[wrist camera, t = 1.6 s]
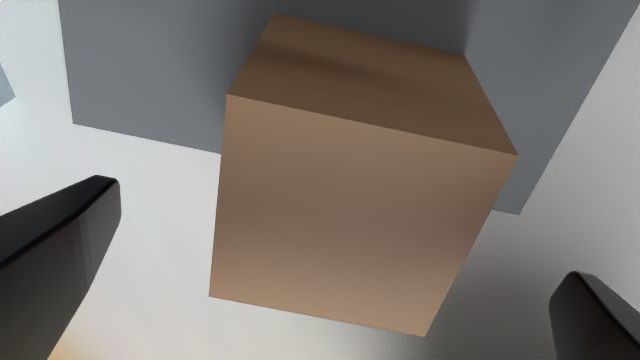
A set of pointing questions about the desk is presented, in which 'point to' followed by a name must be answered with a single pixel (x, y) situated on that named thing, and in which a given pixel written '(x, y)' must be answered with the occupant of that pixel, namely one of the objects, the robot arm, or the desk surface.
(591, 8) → the build mat
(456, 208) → the walnut block
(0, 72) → the block
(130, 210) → the desk surface
